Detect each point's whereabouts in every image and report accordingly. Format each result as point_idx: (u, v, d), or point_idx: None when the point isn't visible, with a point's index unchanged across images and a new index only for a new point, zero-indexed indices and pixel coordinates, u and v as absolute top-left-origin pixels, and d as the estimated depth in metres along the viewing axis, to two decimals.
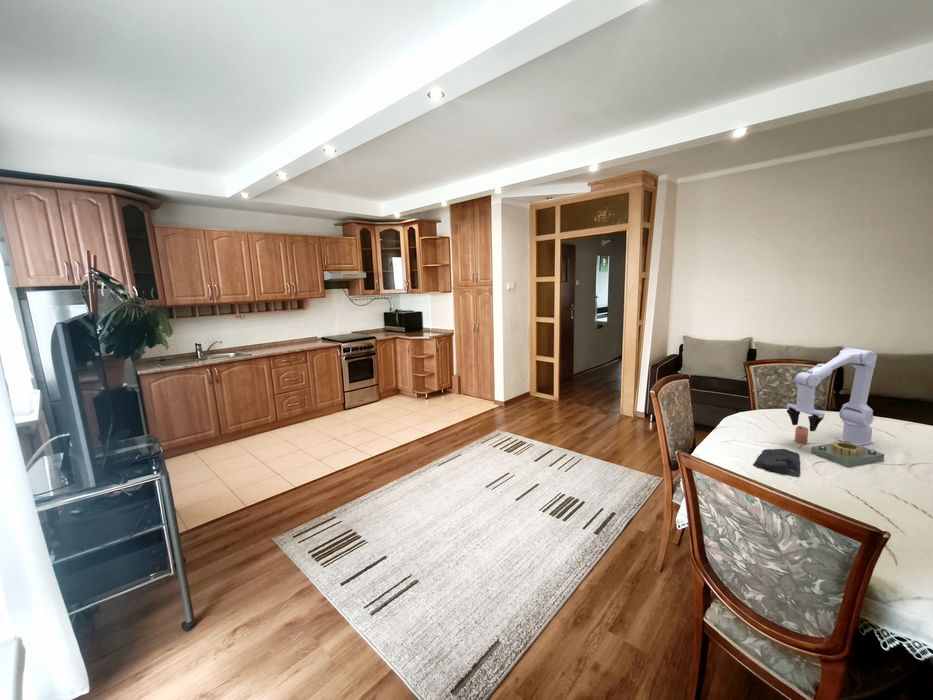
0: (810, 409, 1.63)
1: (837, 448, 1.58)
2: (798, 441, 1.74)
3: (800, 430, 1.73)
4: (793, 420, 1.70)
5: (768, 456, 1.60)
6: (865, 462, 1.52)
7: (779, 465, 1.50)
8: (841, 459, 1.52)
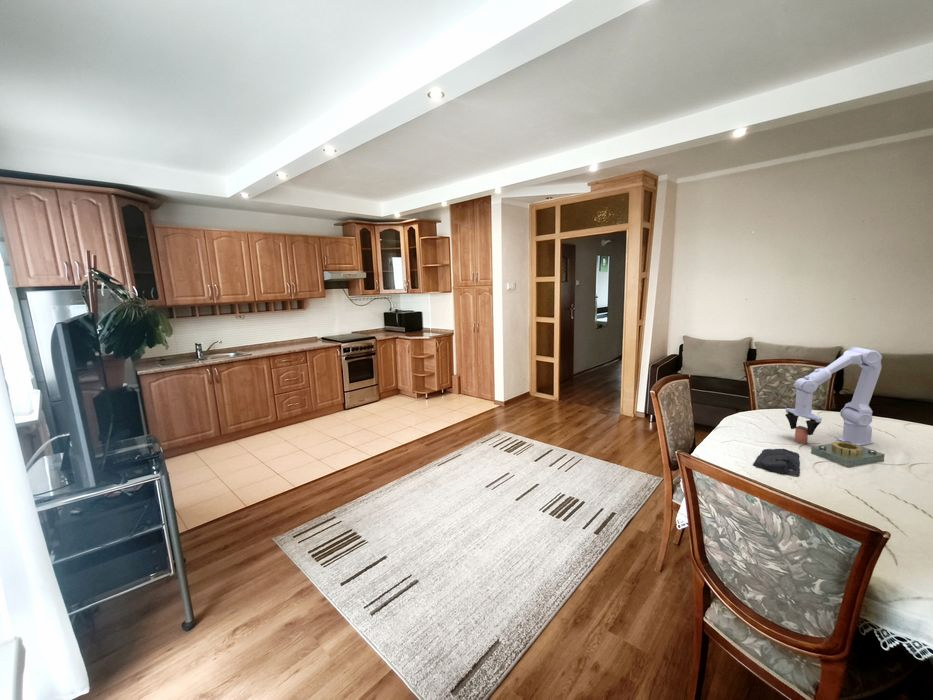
0: (808, 414, 1.70)
1: (837, 448, 1.58)
2: (798, 441, 1.74)
3: (800, 430, 1.73)
4: (791, 424, 1.77)
5: (768, 456, 1.60)
6: (865, 462, 1.52)
7: (778, 465, 1.50)
8: (841, 459, 1.52)
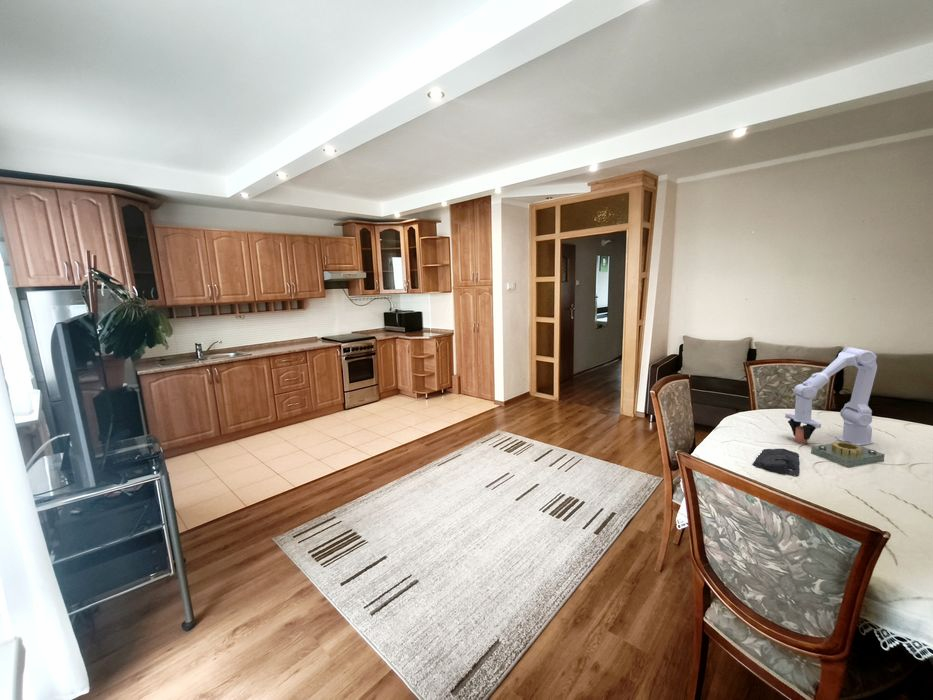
0: (807, 419, 1.70)
1: (837, 448, 1.58)
2: (798, 441, 1.74)
3: (800, 430, 1.73)
4: (794, 431, 1.76)
5: (767, 456, 1.60)
6: (865, 462, 1.52)
7: (778, 465, 1.50)
8: (841, 459, 1.52)
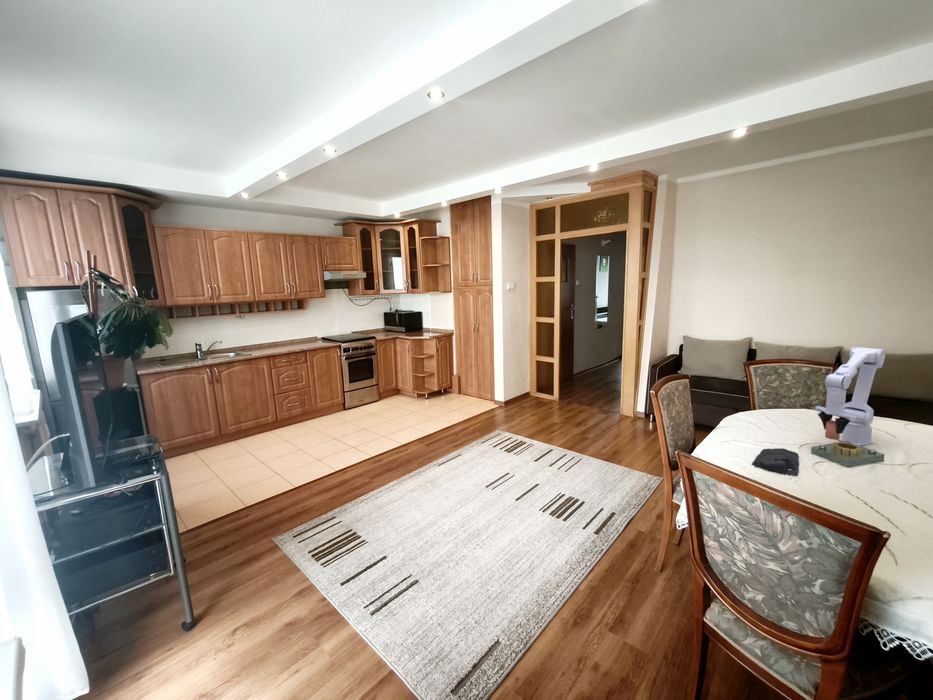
0: (841, 412, 1.58)
1: (837, 448, 1.58)
2: (829, 436, 1.62)
3: (831, 425, 1.60)
4: (825, 424, 1.64)
5: (767, 455, 1.61)
6: (865, 462, 1.52)
7: (777, 464, 1.51)
8: (841, 459, 1.52)
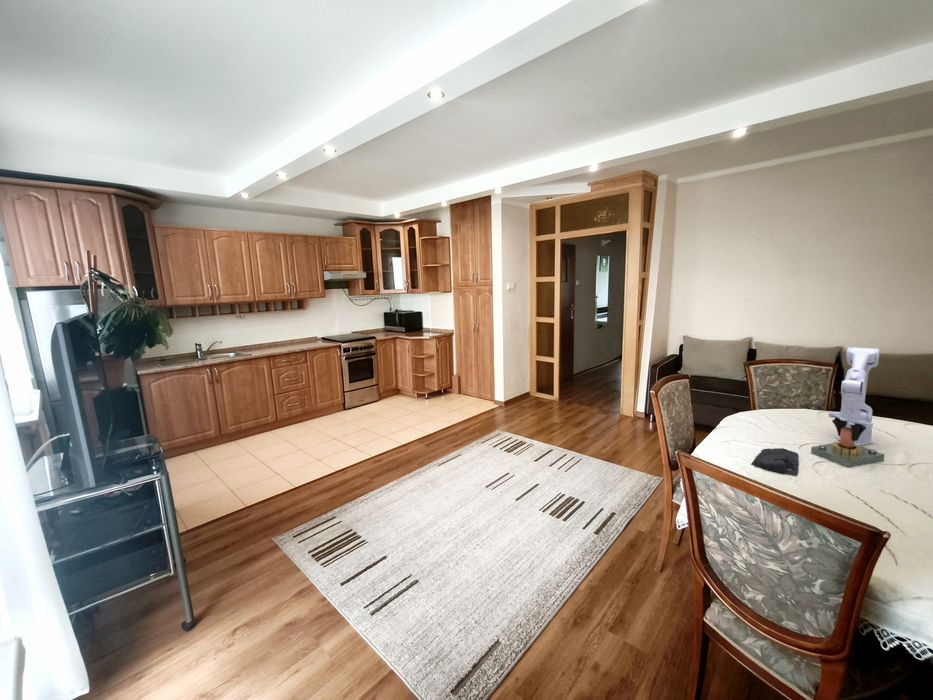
0: (856, 418, 1.53)
1: (837, 448, 1.58)
2: (844, 444, 1.57)
3: (846, 431, 1.55)
4: (839, 431, 1.59)
5: (767, 455, 1.61)
6: (865, 462, 1.52)
7: (776, 464, 1.51)
8: (841, 459, 1.52)
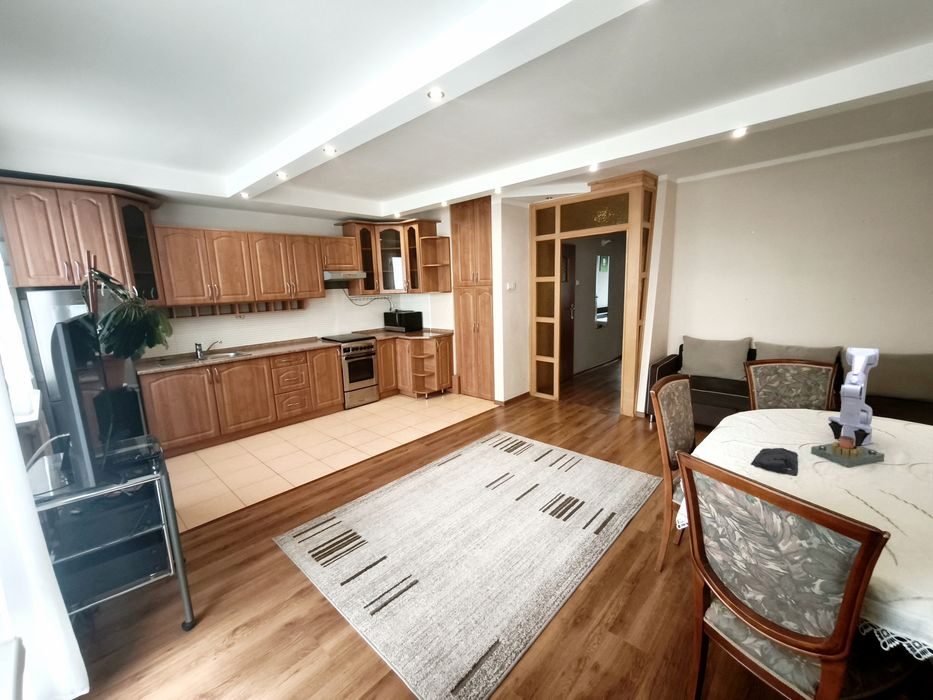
0: (856, 423, 1.53)
1: (837, 448, 1.58)
2: None
3: (845, 440, 1.56)
4: (836, 434, 1.61)
5: (766, 455, 1.61)
6: (865, 462, 1.52)
7: (776, 464, 1.51)
8: (841, 459, 1.52)
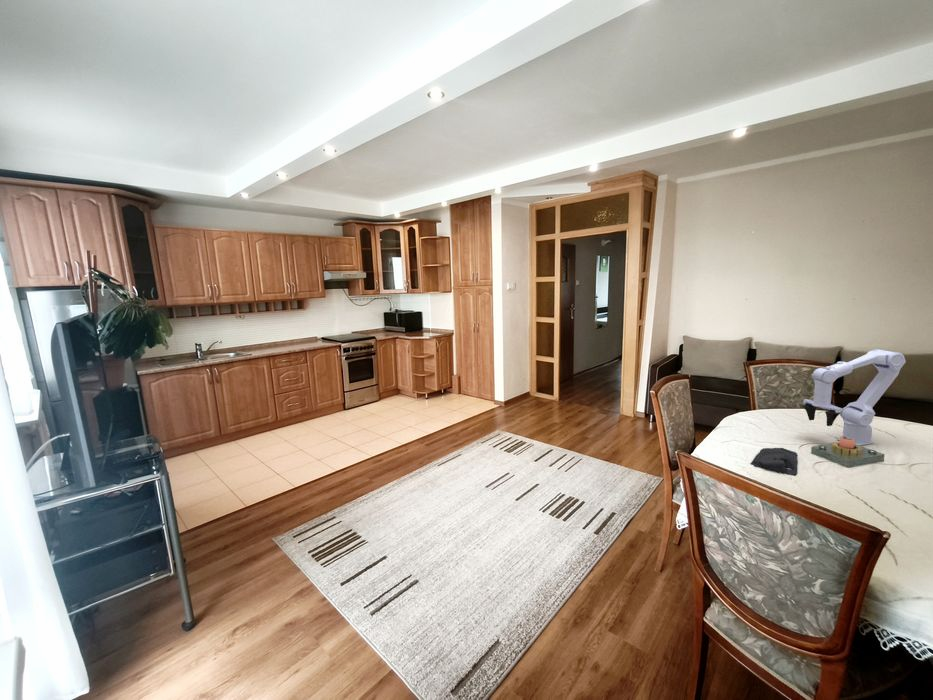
0: (827, 404, 1.67)
1: (837, 448, 1.58)
2: None
3: (845, 441, 1.56)
4: (810, 415, 1.74)
5: (766, 455, 1.61)
6: (865, 462, 1.52)
7: (776, 464, 1.51)
8: (841, 459, 1.52)
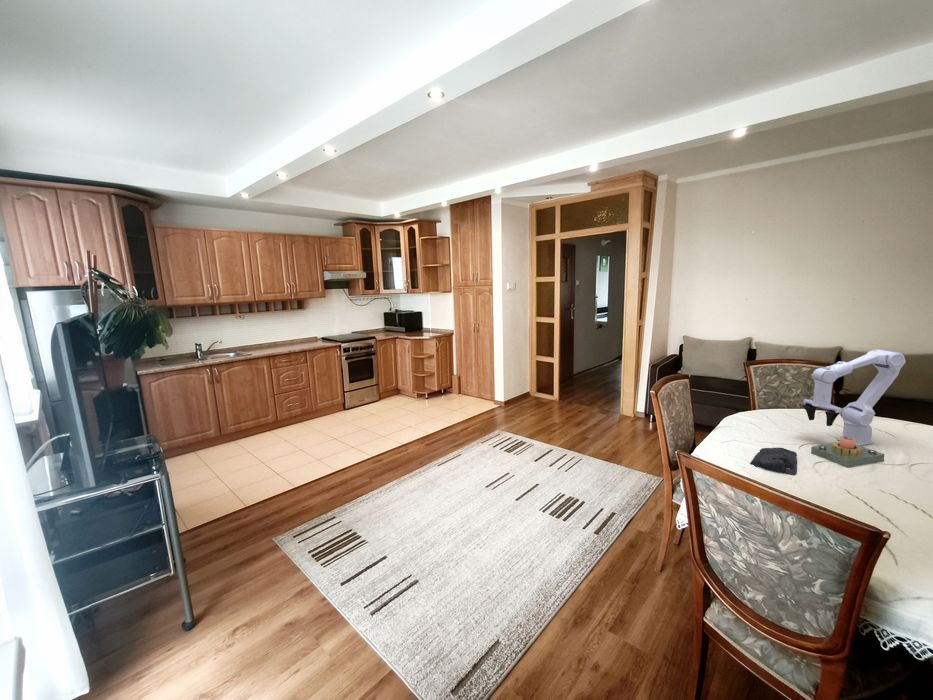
0: (827, 404, 1.67)
1: (837, 448, 1.58)
2: None
3: (846, 441, 1.56)
4: (810, 415, 1.74)
5: (765, 455, 1.62)
6: (865, 462, 1.52)
7: (775, 463, 1.51)
8: (841, 459, 1.52)
